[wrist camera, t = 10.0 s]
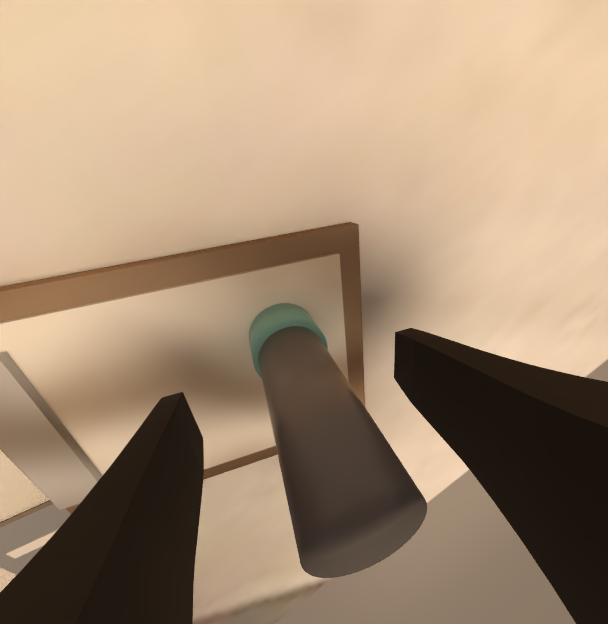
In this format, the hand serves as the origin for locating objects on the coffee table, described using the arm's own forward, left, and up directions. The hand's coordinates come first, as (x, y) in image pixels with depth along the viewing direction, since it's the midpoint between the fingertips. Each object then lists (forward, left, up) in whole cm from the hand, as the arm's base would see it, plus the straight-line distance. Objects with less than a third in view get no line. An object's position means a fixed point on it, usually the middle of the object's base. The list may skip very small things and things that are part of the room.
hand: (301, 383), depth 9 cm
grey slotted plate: (-9, +14, -5) cm, 17 cm away
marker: (0, 0, -4) cm, 4 cm away
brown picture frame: (-2, +4, -5) cm, 6 cm away
